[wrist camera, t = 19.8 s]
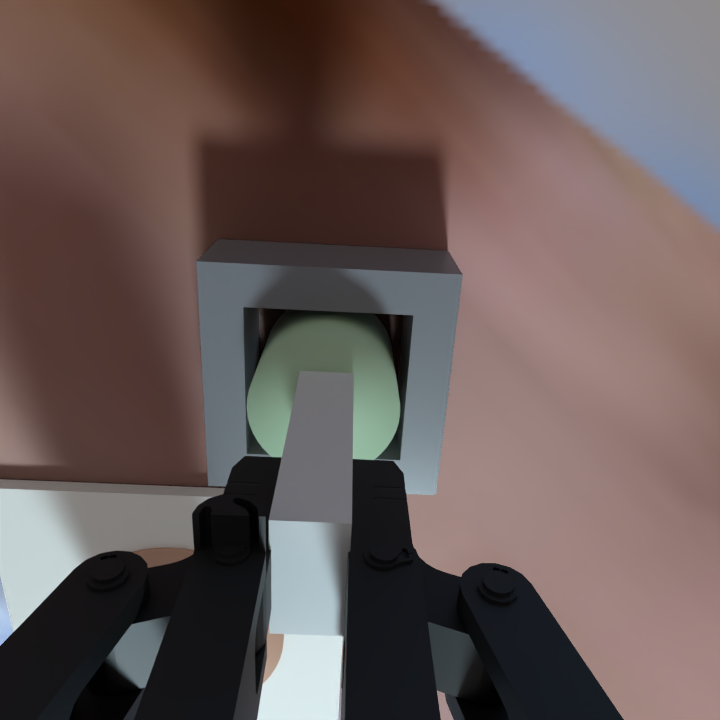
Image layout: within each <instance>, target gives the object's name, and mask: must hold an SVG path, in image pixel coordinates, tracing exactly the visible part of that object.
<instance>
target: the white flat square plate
mask: <svg viewBox="0 0 720 720" xmlns="http://www.w3.org/2000/svg"><path fill="white" fill-rule="evenodd" d="M224 490H225V488H206V487H181V486H157V485H132V484H107V483H82V482H57V481H33V480H8V479H0V576H1V581H2V585H3V590H4V594H5V598H6V603H7V607H8V612H9V616H10V620H11V625H12V629H13V632H14V631H15V630H16V629H17V628H18V627H19V626H20V625H21V624H22V623H23V622H24V621H25V620H26V619H27V618H28V617H29V616H30V615H31V614H32V612H33V611H34V610H35V609H36V608H37V607H38V606H39V605H40V604H41V603H42V602H43V601H44V600H45V599H46V598H47V597H48V596H49V595H50V594H51V593H52V592H53V591H54V590H55V589H56V587H57V586H58V585H59V584H60V583H61V582H62V581H63V580H64V579H65V578H66V577H67V576H68V575H69V574H70V573H71V572H72V571H73V570H74V569H75V568H76V567H77V566H79V565H80V564H81V563H82V562H84V561H85V560H86V559H89V558H91V557H93V556H96V555H98V554H100V553H105V552H110V551H130V552H133V553H135V554H137V555H140V556H141V557H142V558H143V559H144V560H145V562H146V563H147V566H148V568H150V567H155V566H160V565H165V564H170V563H174V562H177V561H181V560H183V559H185V558H187V557H189V556H191V555H193V552H194V540H193V525H192V513H193V511H194V510H195V509H196V507H197V506H198V505H199V504H201V503H202V502H204V501H205V500H207V499H209V498H212V497H215V496H218V495H221V494H223V493H224ZM342 637H343V636H326V635H297V634H269V627H268V633H267V659H266V666H265V672H264V678H263V685H262V691H261V697H260V704H259V710H258V716H257V720H338V709H339V691H340V673H341V655H342Z"/></svg>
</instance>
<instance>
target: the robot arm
mask: <svg viewBox="0 0 720 720" xmlns="http://www.w3.org/2000/svg"><path fill="white" fill-rule="evenodd" d="M353 396H354V373H340V372H318V371H300V373H299V378H298V383H297V387H296V392H295V397H294V402H293V406H292V411H291V416H290V421H289V425H288V430H287V435H286V440H285V445H284V449H283V454H282V457H260V456H244V457H243V458H242V459H241V460H240V461H239V462H238V463H237V464H235V465H234V466H233V467H232V469H231V472H230V475H229V478H228V481H227V484H226V487H225V490H224V493H223V494H221V495H218V496H215V497H212V498H209V499H207V500H205V501H204V502H202V503H201V504H199V505H198V506H197V507H196V509H195V510H194V511H193V513H192V525H193V540H194V552H193V555H191V556H189V557H187V558H185V559H183V560H181V561H177V562H174V563H170V564H165V565H160V566H155V567H150V568H148V566H147V563H146V562H145V560H144V559H143V558H142V557H141V556H140V555H137V554H135V553H133V552H130V551H110V552H105V553H100V554H98V555H96V556H93V557H91V558H89V559H86V560H85V561H84V562H82V563H81V564H80V565H79V566H77V567H76V568H75V569H74V570H73V571H72V572H71V573H70V574H69V575H68V576H67V577H66V578H65V579H64V580H63V581H62V582H61V583H60V584H59V585H58V586H57V587H56V589H55V590H54V591H53V592H52V593H51V594H50V595H49V596H48V597H47V598H46V599H45V600H44V601H43V602H42V603H41V604H40V605H39V606H38V607H37V608H36V609H35V610H34V611H33V612H32V614H31V615H30V616H29V617H28V618H27V619H26V620H25V621H24V622H23V623H22V624H21V625H20V626H19V627H18V628H17V629H16V630H15V631H14V632H13V633H12V634H11V635H10V636H9V637H8V639H7V640H6V641H5V642H4V643H3V644H2V645H1V646H0V720H257V716H258V710H259V704H260V697H261V691H262V685H263V678H264V672H265V666H266V659H267V633H268V627H269V634H297V635H326V636H344V645H343V663H342V680H341V688H342V700H341V720H441V719H440V712H439V704H438V696H437V690H438V691H441V692H443V693H445V697H446V702H447V704H448V707H449V709H450V711H451V714H452V716H453V719H454V720H623V718H622V717H621V715H620V714H619V712H618V711H617V709H616V708H615V706H614V705H613V703H612V702H611V700H610V699H609V697H608V696H607V695H606V693H605V692H604V690H603V689H602V687H601V686H600V684H599V683H598V681H597V680H596V678H595V677H594V675H593V674H592V672H591V671H590V670H589V668H588V667H587V665H586V664H585V662H584V661H583V659H582V658H581V656H580V655H579V653H578V652H577V650H576V649H575V647H574V646H573V644H572V643H571V642H570V640H569V639H568V637H567V636H566V634H565V633H564V631H563V630H562V628H561V627H560V625H559V624H558V622H557V621H556V619H555V618H554V617H553V615H552V614H551V612H550V611H549V609H548V608H547V606H546V605H545V603H544V602H543V600H542V599H541V597H540V596H539V594H538V593H537V592H536V590H535V589H534V587H533V586H532V584H531V583H530V582H529V581H528V580H527V579H526V578H525V577H524V576H523V575H522V574H521V573H519V572H517V571H515V570H514V569H512V568H510V567H507V566H503V565H500V564H496V563H481V564H478V565H475V566H471V567H470V568H468V569H467V570H466V571H465V572H464V573H463V574H462V577H459V576H455V575H452V574H448V573H445V572H442V571H440V570H437V569H435V568H433V567H431V566H430V565H428V564H426V563H425V562H424V561H423V560H422V559H421V558H420V557H419V556H418V554H417V552H416V549H415V548H414V547H413V544H412V537H411V529H410V521H409V513H408V505H407V497H406V490H405V481H404V473H403V472H402V471H401V470H400V468H399V467H398V466H397V465H396V463H395V462H394V461H388V460H365V459H353Z"/></svg>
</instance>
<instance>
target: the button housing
mask: <svg viewBox="0 0 720 720" xmlns="http://www.w3.org/2000/svg"><path fill="white" fill-rule="evenodd" d="M196 266H197V285H198V304H199V323H200V342H201V361H202V380H203V398H204V417H205V436H206V455H207V474H208V486H225V487H226V484H227V481H228V478H229V475H230V472H231V469H232V467H233V466H234V465H235V464H237V463H238V462H239V461H240V460H241V459H242V458H243V457H244V456H260V457H271V456H270V455H269V454H268V453H267V452H266V451H265V450H264V449H263V448H262V447H261V445H260V444H259V443H258V441H257V439H256V438H255V436H254V434H253V432H252V430H251V427H250V424H249V420H248V416H247V397H248V392H249V388H250V386H251V383H252V380H253V377H254V375H255V372H256V369H257V366H258V364H259V308H271V309H292V310H313V311H333V312H354V313H375V314H396V315H403V326H402V338H401V350H400V362H399V373H398V385H397V386H398V393H399V400H400V418H399V424H398V427H397V430H396V432H395V435H394V437H393V439H392V440H391V442H390V443H389V445H388V446H387V448H386V449H385V450H384V451H383V452H382V453H381V454H380V455H379V456H378V457H377V458H376V459H374V460H388V461H394V462H395V463H396V465H397V466H398V467H399V468H400V470H401V471H402V472H403V473H404V481H405V490H406V494H423V495H436V489H437V481H438V473H439V464H440V456H441V448H442V440H443V431H444V423H445V415H446V407H447V398H448V390H449V382H450V374H451V365H452V357H453V349H454V341H455V332H456V324H457V316H458V308H459V299H460V291H461V283H462V273H461V271H460V270H459V268H458V266H457V265H456V263H455V261H454V260H453V258H452V256H451V255H450V253H449V251H444V250H425V249H405V248H386V247H366V246H346V245H327V244H307V243H287V242H268V241H248V240H228V239H218V240H217V241H216V242H215V243H214V244H213V245H212V246H211V247H210V248H209V249H208V250H207V251H206V252H205V253H204V254H203V255H202V256H201V257H200V258H199V259H198V260H197V261H196Z"/></svg>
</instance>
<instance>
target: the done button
mask: <svg viewBox="0 0 720 720" xmlns="http://www.w3.org/2000/svg"><path fill="white" fill-rule="evenodd" d="M300 371H318V372H340V373H354V396H353V459H365V460H374V459H376V458H377V457H378V456H379V455H380V454H381V453H382V452H383V451H384V450H385V449H386V448H387V446H388V445H389V443H390V442H391V440H392V439H393V437H394V435H395V432H396V430H397V427H398V424H399V418H400V400H399V393H398V386H397V379H396V372H395V365H394V358H393V351H392V344H391V341H390V337H389V335H388V333H387V330H386V329H385V327H384V325H383V324H382V322H381V321H380V320H379V319H378V317H377V316H376V315H375V314H374V313H354V312H333V311H313V310H292V309H288V310H287V311H285V312H284V313H283V314H282V315H281V316H280V317H279V318H278V320H277V321H276V322H275V324H274V326H273V327H272V329H271V331H270V334H269V336H268V339H267V342H266V345H265V347H264V350H263V353H262V356H261V358H260V361H259V364H258V366H257V369H256V372H255V375H254V377H253V380H252V383H251V386H250V388H249V392H248V397H247V416H248V420H249V424H250V427H251V430H252V432H253V434H254V436H255V438H256V439H257V441H258V443H259V444H260V445H261V447H262V448H263V449H264V450H265V451H266V452H267V453H268V454H269V455H270V456H271V457H282V454H283V449H284V445H285V440H286V435H287V430H288V425H289V421H290V416H291V411H292V406H293V402H294V397H295V392H296V387H297V383H298V378H299V373H300Z"/></svg>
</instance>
